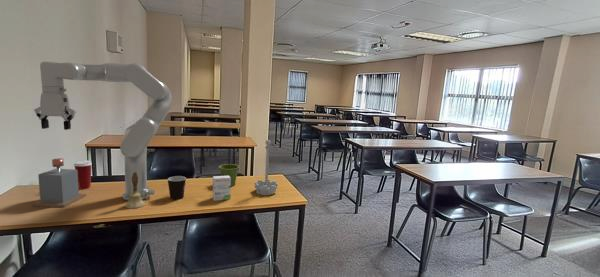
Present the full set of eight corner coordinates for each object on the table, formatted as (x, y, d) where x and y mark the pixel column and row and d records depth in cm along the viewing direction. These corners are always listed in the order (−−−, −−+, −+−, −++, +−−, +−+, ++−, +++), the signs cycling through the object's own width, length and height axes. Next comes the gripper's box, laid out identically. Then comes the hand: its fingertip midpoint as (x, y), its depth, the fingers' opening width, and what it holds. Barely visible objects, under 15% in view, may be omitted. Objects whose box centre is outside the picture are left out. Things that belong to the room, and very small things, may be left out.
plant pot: (233, 180, 186) (233, 163, 184) (242, 185, 177) (243, 167, 175) (215, 183, 178) (215, 165, 176) (223, 189, 169) (224, 170, 168)
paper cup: (96, 186, 162) (95, 161, 159) (85, 190, 154) (83, 164, 152) (83, 184, 162) (81, 159, 160) (71, 189, 155) (69, 163, 153)
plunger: (73, 195, 143) (70, 158, 140) (62, 200, 136) (59, 161, 133) (58, 195, 142) (55, 157, 140) (46, 200, 136) (43, 160, 133)
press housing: (85, 196, 147) (84, 168, 144) (64, 207, 133) (62, 177, 131) (56, 194, 146) (54, 167, 144) (32, 205, 132) (29, 175, 130)
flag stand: (280, 194, 166) (283, 141, 161) (257, 196, 161) (259, 142, 156) (273, 187, 178) (276, 137, 173) (252, 188, 173) (254, 138, 168)
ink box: (228, 196, 159) (229, 175, 157) (230, 199, 154) (231, 177, 152) (212, 197, 155) (212, 175, 154) (213, 201, 151) (213, 178, 149)
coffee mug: (179, 201, 148) (179, 182, 146) (164, 199, 149) (163, 179, 148) (192, 193, 159) (192, 175, 157) (177, 191, 161) (177, 173, 159)
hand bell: (140, 200, 146) (139, 169, 143) (148, 205, 140) (147, 173, 138) (122, 205, 139) (120, 172, 137) (129, 210, 134) (128, 176, 131)
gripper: (79, 91, 135) (81, 128, 138) (40, 89, 135) (43, 126, 138) (67, 91, 128) (69, 130, 131) (25, 89, 127) (29, 129, 130)
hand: (56, 128), depth 134 cm, fingers open, 9 cm apart
